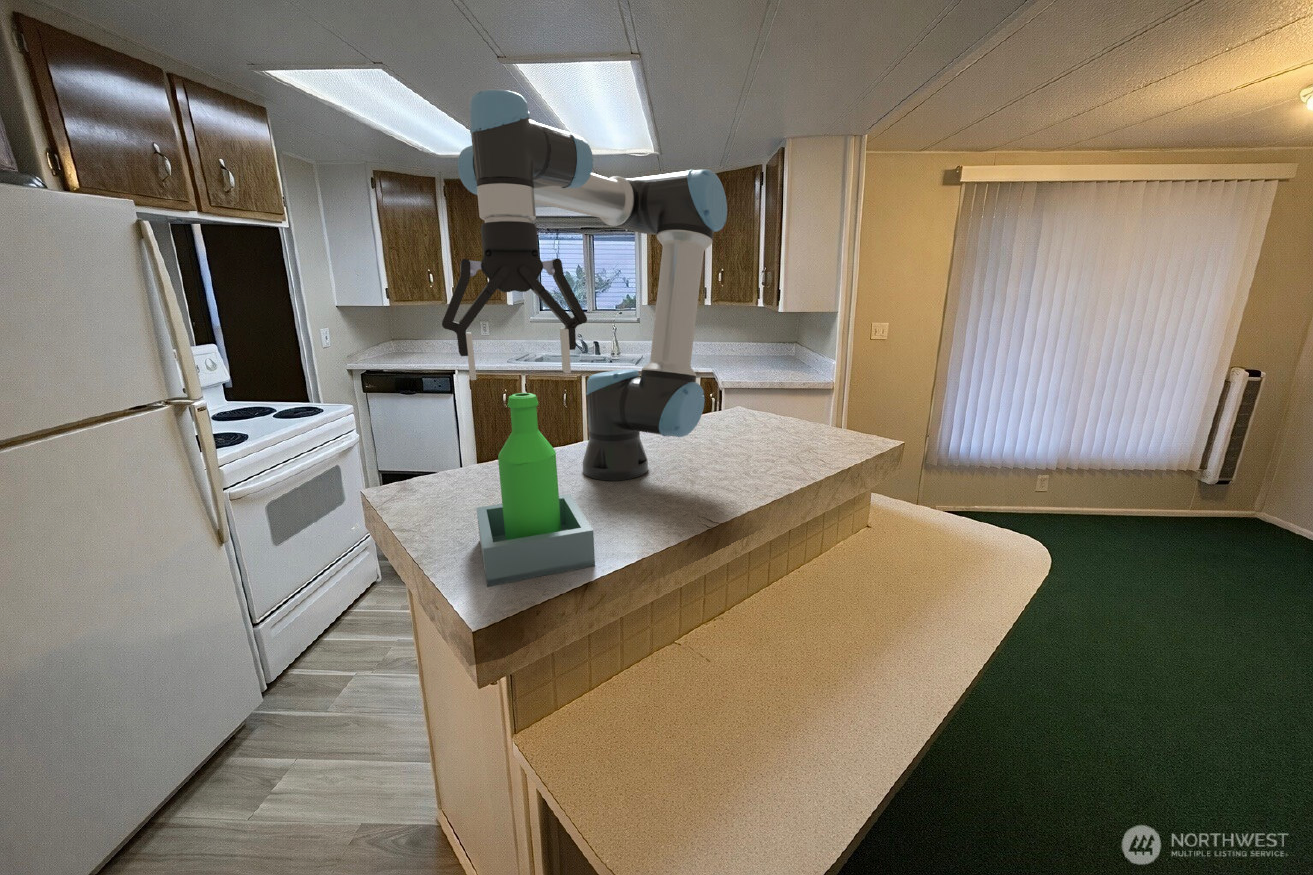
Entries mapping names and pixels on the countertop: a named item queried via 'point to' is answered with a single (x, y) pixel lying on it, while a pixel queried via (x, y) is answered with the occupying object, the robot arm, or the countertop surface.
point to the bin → (534, 545)
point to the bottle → (528, 474)
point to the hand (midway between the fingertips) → (521, 375)
